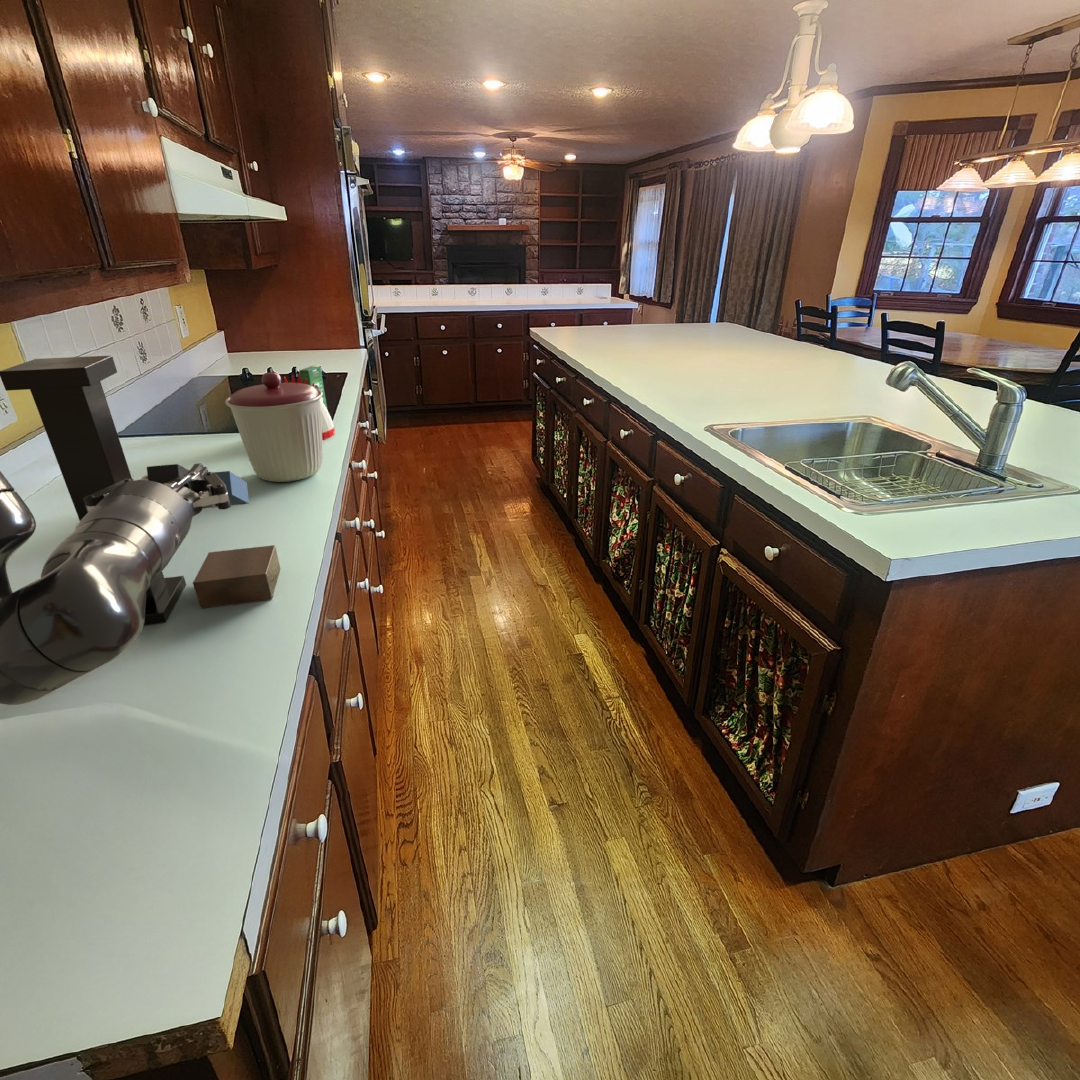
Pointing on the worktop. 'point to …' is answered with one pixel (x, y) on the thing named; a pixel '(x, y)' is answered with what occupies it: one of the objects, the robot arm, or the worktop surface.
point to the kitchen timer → (325, 416)
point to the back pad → (233, 483)
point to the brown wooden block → (237, 576)
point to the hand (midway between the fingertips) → (183, 472)
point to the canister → (280, 428)
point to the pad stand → (85, 441)
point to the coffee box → (314, 379)
